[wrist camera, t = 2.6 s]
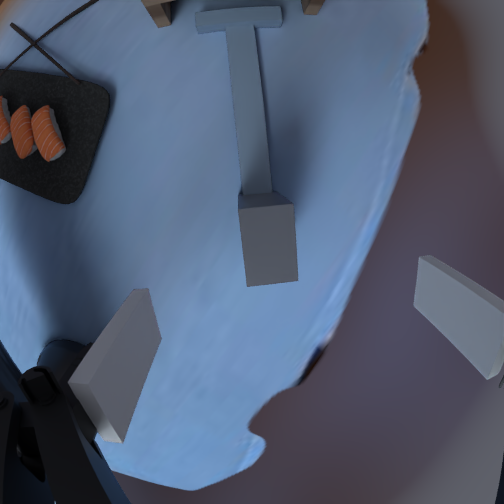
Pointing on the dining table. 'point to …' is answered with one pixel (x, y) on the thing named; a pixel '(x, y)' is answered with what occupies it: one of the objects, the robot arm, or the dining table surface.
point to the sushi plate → (49, 127)
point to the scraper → (255, 150)
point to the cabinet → (160, 3)
